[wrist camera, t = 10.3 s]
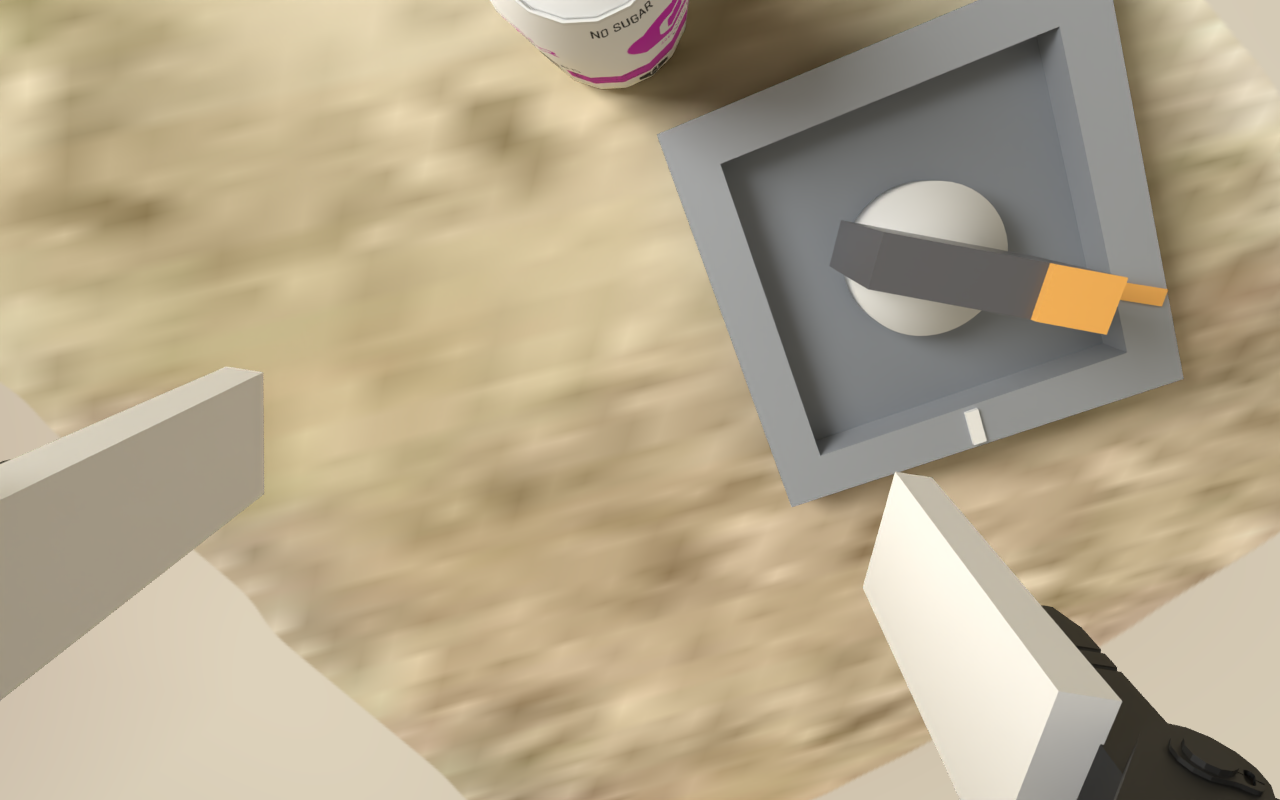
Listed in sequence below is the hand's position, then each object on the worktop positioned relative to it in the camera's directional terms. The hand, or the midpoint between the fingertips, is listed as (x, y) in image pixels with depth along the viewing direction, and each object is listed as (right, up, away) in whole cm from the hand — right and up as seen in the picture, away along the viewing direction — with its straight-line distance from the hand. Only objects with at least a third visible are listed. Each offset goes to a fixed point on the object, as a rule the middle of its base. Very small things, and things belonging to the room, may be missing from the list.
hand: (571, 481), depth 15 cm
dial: (+17, +10, +25) cm, 31 cm away
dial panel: (+17, +10, +26) cm, 33 cm away
